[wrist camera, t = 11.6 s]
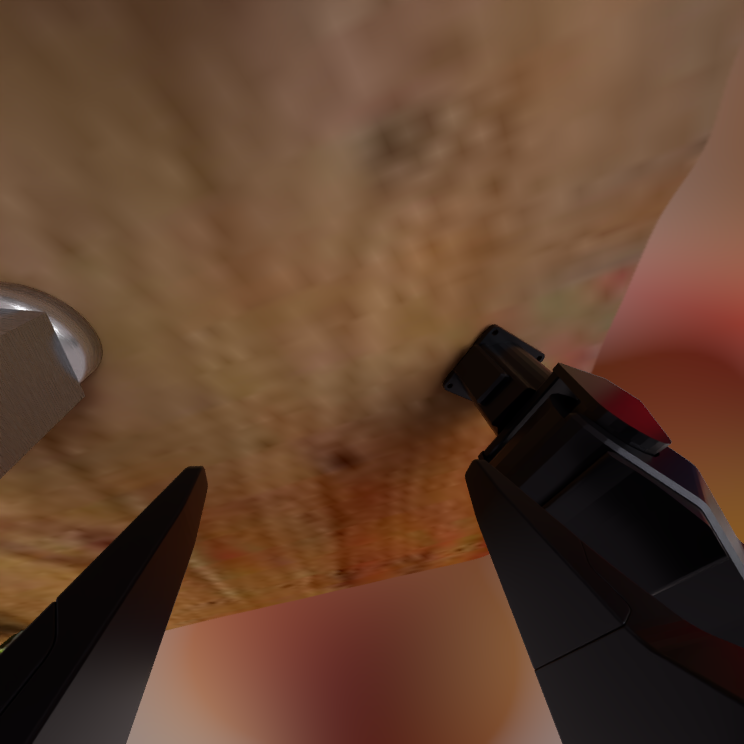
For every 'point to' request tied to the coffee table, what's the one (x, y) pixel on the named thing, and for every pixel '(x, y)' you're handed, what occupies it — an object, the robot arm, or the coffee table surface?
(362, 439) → the coffee table surface
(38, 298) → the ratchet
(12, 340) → the grey round knob
